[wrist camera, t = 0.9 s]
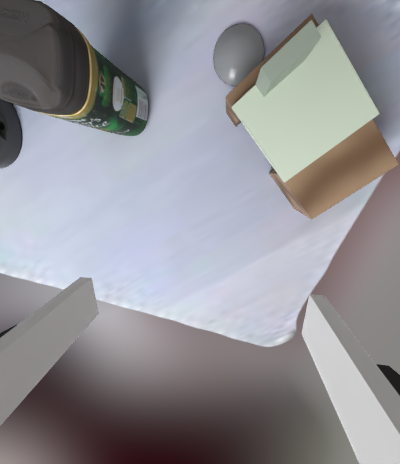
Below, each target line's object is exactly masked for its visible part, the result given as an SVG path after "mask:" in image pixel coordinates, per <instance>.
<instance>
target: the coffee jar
mask: <svg viewBox="0 0 400 464" xmlns="http://www.w3.org/2000/svg"><path fill="white" fill-rule="evenodd" d="M0 99H3V100H5V101H7V102H11V103H13V104H16V105H19V106H22V107H25V108H27V109H30V110H33V111H36V112H40V113H43V114H47V115H50V116H53V117H56V118H59V119H63V120H66V121H70V122H73V123H77V124H81V125H84V126H88V127H92V128H96V129H100V130H103V131H107V132H111V133H115V134H120V135H126V136H136V135H138V134H140V133H141V132H142V131H143V130H144V128H145V125H146V122H147V117H148V98H147V95H146V93H145V91H144V90H143V89H142V88H141V87H140V86H139V85H138V84H137V83H136V82H135V81H133V80H132V79H131V78H130V77H128V76H127V75H126V74H125V73H123V72H122V71H121V70H119V69H118V68H117V67H116V66H115V65H113V64H112V63H111V62H110V61H109V60H107V59H106V58H105V57H104V56H103V55H101V54H100V53H99V52H98V51H97V50H95V49H94V48H93V47H92V46H91V45H90V43H89V42H88V40H87V39H86V38H85V36H84V35H83V34H82V33H81V32H80V31H79V30H78V29H77V28H76V27H75V26H74V25H73V24H72V23H71V22H69V21H68V20H67V19H65V18H64V17H63V16H61V15H60V14H59V13H57V12H56V11H55V10H53V9H52V8H50V7H49V6H47V5H46V4H44V3H42V2H41V1H35V0H0Z"/></svg>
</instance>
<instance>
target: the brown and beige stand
mask: <svg viewBox="0 0 400 464" xmlns="http://www.w3.org/2000/svg"><path fill="white" fill-rule="evenodd" d="M311 20H312V21H313V23H314V25H315V27H316V28H317V27H318V26H319V25H318V23H317V22H316V20H315V18H314V16H313V15H312V14H311V15H310V16H309V17H308V18H307V19H306V20H305V21H304V22H303V23H302V24H301V25H300V26H298V27H297V28H296V29H295V30H294V31H293V32H292V33H291V34H290V35H289V36H288V37H287V38H286V39H285V40H284V41H283V42H282V43H281V44H280V45H279V46H278V47H277V48H276V49H275V50H274V51H273V52H272V53H270V54H269V55H268V56H267V57H266V58H265V59H264V60H263V61H262V62H261V63H260V64H259V65H258V66H257V67H256V68H255V69H254V70H253V71H252V72H251V73H250V74H249V75H248V76H247V77H246V78H245V79H243V80H242V81H241V82H240V83H239V84H238V85H237V86H236V87H235V88H234V89H233V90H232V91H231V92H230V93H229V94H228V95H227V96H226V113H227V115H228V116H229V117H230V119H231V120H232V122H233V123H234V125H235V126H237V125H238V124H239V123H241V121H240V119H239V118H238V117H237V115H236V114H235V112H234V111H233V110H232V106H233V105H234V104H235V103H236V102H238V101H239V100H240V99H241V98H242V97H243V96H244V95H245V94H246V93H247V92H248V91H249V90H250V89H251V88H253V87H254V86H255V85H256V82H257V79H258V75H259V72H260V69H261V67H262V66H263V65H264V64H266V63H267V62H268V61H269V60H270V59H271V58H272V57H273V56H274V55H275V54H276V53H277V52H278V51H279V50H280V49H281V48H282V47H283V46H284V45H285V44H286V43H288V42H289V41H290V40H291V39H292V38H293V37H294V36H295V35H296V34H297V33H298V32H299V31H300V30H301V29H302V28H303V27H304V26H305V25H306V24H307V23H308V22H310V21H311ZM397 165H398V162H397V161H396V159H395V157H394V155H393V154H392V152H391V150H390V148H389V147H388V145H387V143H386V142H385V140H384V138H383V136H382V135H381V133H380V131H379V129H378V128H377V126H376V124H375V122H374V121H373V119H372V120H370V121H369V122H368V123H366V124H365V125H364V126H362V127H361V128H359V129H358V130H357V131H355V132H354V133H352V134H351V135H350V136H348V137H347V138H346V139H344V140H343V141H341V142H340V143H339V144H337V145H336V146H334V147H333V148H332V149H330V150H329V151H328V152H326V153H325V154H323V155H322V156H321V157H319V158H318V159H317V160H315V161H314V162H312V163H311V164H310V165H308V166H307V167H305V168H304V169H303V170H301V171H300V172H299V173H297V174H296V175H294V176H293V177H292V178H290V179H289V180H288V181H286V182H283V181H282V179H281V178H280V176H279V175H278V174H277V172H276V171H275V169H273V170H272V171H271V172H269V174H270V175H271V177H272V178H273V179H274V181H275V182H276V184H277V185H278V186H279V188H280V189H281V191H282V192H283V194H284V195H285V196H286V198H287V199H288V201H289V202H290V203H291V205H292V206H293V208H294V209H296V210H297V211H299V212H301V213H302V214H304V215H305V216H307V217H309V218H310V219H313V218H315V217H316V216H318V215H320V214H321V213H323V212H324V211H326V210H328V209H329V208H331V207H332V206H334V205H335V204H337V203H339V202H340V201H342V200H343V199H345V198H346V197H348V196H350V195H351V194H353V193H354V192H356V191H358V190H359V189H361V188H362V187H364V186H365V185H367V184H369V183H370V182H372V181H373V180H375V179H377V178H378V177H380V176H381V175H383V174H384V173H386V172H387V171H389V170H391V169H392V168H394V167H395V166H397Z"/></svg>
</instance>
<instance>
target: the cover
mask: <svg viewBox="0 0 400 464" xmlns="http://www.w3.org/2000/svg"><path fill="white" fill-rule="evenodd" d="M232 110H233V111H234V112H235V114H236V115H237V117H238V118H239V119H240V121H241V122H242V124H243V125H244V127H245V128H246V129H247V131H248V132H249V134H250V135H251V137H252V138H253V139H254V141H255V142H256V144H257V145H258V147H259V148H260V149H261V151H262V152H263V154H264V155H265V157H266V158H267V159H268V161H269V162H270V164H271V165H272V166H273V168H274V169H275V171H276V172H277V174H278V175H279V176H280V178H281V179H282V181H283V182H286V181H288V180H289V179H290V178H292V177H293V176H294V175H296V174H297V173H299V172H300V171H301V170H303V169H304V168H305V167H307V166H308V165H310V164H311V163H312V162H314V161H315V160H317V159H318V158H319V157H321V156H322V155H323V154H325V153H326V152H328V151H329V150H330V149H332V148H333V147H334V146H336V145H337V144H339V143H340V142H341V141H343V140H344V139H346V138H347V137H348V136H350V135H351V134H352V133H354V132H355V131H357V130H358V129H359V128H361V127H362V126H364V125H365V124H366V123H368V122H369V121H370V120H372V119H373V118H375V117H376V116H377V115H379V114H380V113H379V112H378V110H377V108H376V106H375V105H374V103H373V101H372V99H371V97H370V96H369V94H368V92H367V90H366V89H365V87H364V85H363V83H362V82H361V80H360V78H359V76H358V75H357V73H356V71H355V69H354V67H353V66H352V64H351V62H350V60H349V59H348V57H347V55H346V53H345V52H344V50H343V48H342V46H341V44H340V43H339V41H338V39H337V37H336V36H335V34H334V32H333V30H332V29H331V27H330V25H329V23H328V21H327V20H326V19H325V20H324V21H323V22H322V23H321V24H320V25H319V26H318V27H317V28H316V27H315V25H314V23H313V21H312V20H311V21H310V22H308V23H307V24H306V25H305V26H304V27H303V28H302V29H301V30H300V31H299V32H298V33H297V34H296V35H295V36H294V37H293V38H292V39H291V40H290V41H289V42H288V43H286V44H285V45H284V46H283V47H282V48H281V49H280V50H279V51H278V52H277V53H276V54H275V55H274V56H273V57H272V58H271V59H270V60H269V61H268V62H267V63H266V64H264V65H263V66H262V67H261V69H260V72H259V75H258V79H257V82H256V85H255V86H254V87H253V88H251V89H250V90H249V91H248V92H247V93H246V94H245V95H244V96H243V97H242V98H241V99H240V100H239V101H238V102H236V103H235V104H234V105H233V106H232Z"/></svg>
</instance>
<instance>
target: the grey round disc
mask: <svg viewBox="0 0 400 464" xmlns="http://www.w3.org/2000/svg"><path fill="white" fill-rule="evenodd" d="M263 56H264V46H263V41H262V38H261V36H260V34H259V33H258V32H257V30H256V29H254V28H253V27H252V26H250V25H247V24H237V25H234V26H231V27H229V28H228V29H227V30H225V31H224V32H223V33H222V35H221V36H220V37H219V39H218V41H217V43H216V46H215V49H214V56H213V60H214V67H215V71H216V73H217V75H218V77H219V78H220V79H221V80H222V81H223V82H224V83H226V84H228V85H231V86H237V85H238V84H239V83H240V82H241V81H242V80H243V79H245V78H246V77H247V76H248V75H249V74H250V73H251V72H252V71H253V70H254V69H255V68H256V67H257V66H258V65H259V64H260V63H261V62H262V61H263Z"/></svg>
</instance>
